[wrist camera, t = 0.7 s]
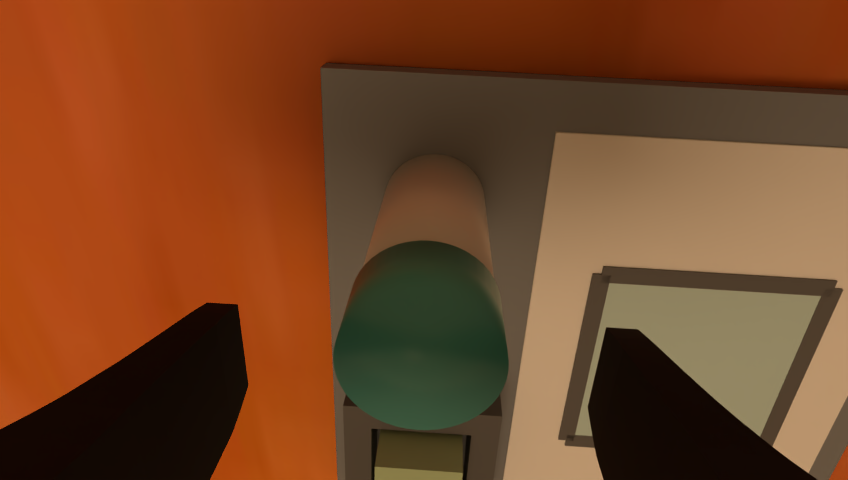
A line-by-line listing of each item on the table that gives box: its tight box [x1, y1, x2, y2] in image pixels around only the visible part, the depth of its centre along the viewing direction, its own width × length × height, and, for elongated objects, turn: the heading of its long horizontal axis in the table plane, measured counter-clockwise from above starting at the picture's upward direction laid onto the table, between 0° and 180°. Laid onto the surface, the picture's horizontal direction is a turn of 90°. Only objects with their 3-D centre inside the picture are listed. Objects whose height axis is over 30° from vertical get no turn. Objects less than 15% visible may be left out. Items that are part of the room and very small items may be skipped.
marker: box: [333, 154, 509, 430], centre depth 14 cm, size 3×3×8 cm
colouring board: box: [321, 63, 848, 480], centre depth 20 cm, size 20×18×3 cm
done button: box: [375, 429, 463, 480], centre depth 21 cm, size 3×3×2 cm
